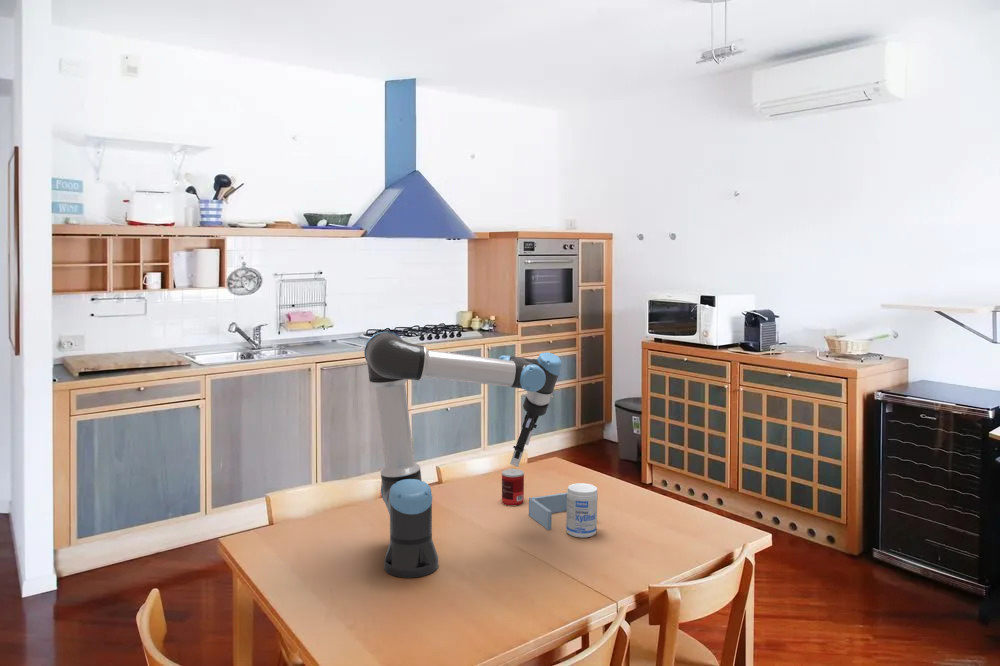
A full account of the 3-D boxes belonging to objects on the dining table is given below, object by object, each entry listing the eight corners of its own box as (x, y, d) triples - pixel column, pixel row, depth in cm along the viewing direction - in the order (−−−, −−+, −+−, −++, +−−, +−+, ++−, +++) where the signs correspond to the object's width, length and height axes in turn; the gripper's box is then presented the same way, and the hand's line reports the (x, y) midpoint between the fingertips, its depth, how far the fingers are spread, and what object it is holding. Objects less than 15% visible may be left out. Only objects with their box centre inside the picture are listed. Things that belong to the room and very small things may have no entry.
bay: (595, 522, 243) (596, 504, 243) (548, 530, 237) (548, 511, 236) (574, 508, 256) (574, 491, 256) (528, 515, 249) (528, 498, 249)
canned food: (524, 499, 266) (524, 469, 264) (522, 506, 258) (523, 475, 257) (503, 498, 266) (503, 468, 265) (500, 505, 259) (500, 475, 257)
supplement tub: (577, 540, 228) (577, 494, 226) (560, 530, 236) (560, 485, 235) (602, 535, 233) (603, 489, 231) (585, 525, 241) (586, 481, 239)
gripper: (540, 422, 221) (521, 478, 230) (556, 386, 243) (538, 439, 252) (516, 413, 222) (498, 470, 231) (535, 378, 244) (517, 431, 253)
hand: (519, 454), depth 242 cm, fingers open, 13 cm apart
